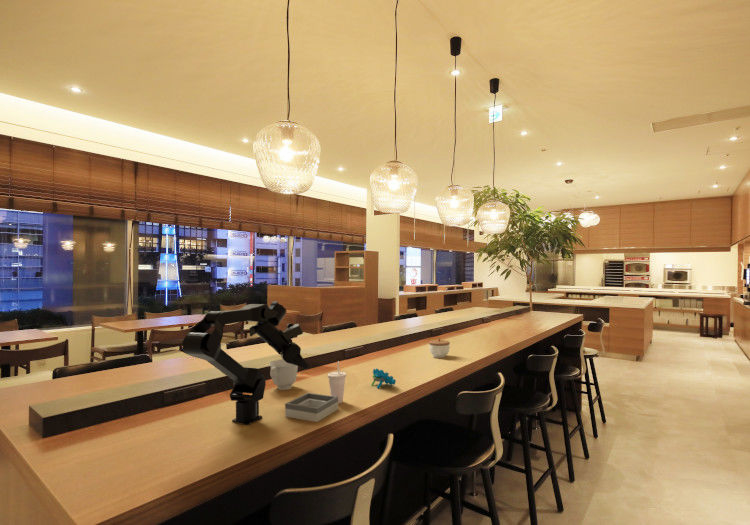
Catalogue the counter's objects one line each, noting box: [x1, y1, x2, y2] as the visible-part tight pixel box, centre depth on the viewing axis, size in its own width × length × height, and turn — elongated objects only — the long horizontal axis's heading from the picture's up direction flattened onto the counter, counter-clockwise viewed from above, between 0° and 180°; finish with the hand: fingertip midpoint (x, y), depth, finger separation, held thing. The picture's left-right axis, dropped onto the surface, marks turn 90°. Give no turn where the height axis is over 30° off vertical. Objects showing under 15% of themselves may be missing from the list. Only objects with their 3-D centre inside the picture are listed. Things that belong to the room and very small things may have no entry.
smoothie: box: [327, 360, 347, 405], centre depth 135 cm, size 6×6×14 cm
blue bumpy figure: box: [370, 368, 397, 389], centre depth 151 cm, size 11×6×10 cm
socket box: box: [284, 392, 339, 423], centre depth 125 cm, size 12×12×4 cm
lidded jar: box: [428, 338, 451, 359], centre depth 203 cm, size 11×11×9 cm
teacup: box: [268, 358, 299, 391], centre depth 151 cm, size 12×15×10 cm
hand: (304, 364), depth 134 cm, fingers open, 9 cm apart
